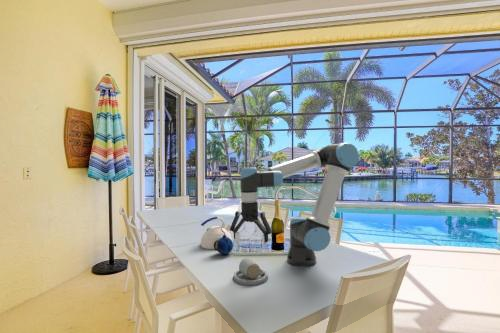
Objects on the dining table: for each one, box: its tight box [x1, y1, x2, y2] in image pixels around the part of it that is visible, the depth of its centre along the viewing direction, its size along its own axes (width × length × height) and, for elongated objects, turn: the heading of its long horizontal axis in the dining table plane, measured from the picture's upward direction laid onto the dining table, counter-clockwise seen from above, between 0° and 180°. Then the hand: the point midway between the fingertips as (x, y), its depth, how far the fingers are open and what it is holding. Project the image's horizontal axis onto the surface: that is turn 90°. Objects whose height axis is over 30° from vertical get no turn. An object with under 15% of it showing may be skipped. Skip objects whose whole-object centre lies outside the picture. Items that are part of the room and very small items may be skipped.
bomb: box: [213, 228, 234, 255], centre depth 160 cm, size 10×11×15 cm
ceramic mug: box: [238, 257, 265, 279], centre depth 127 cm, size 11×8×8 cm
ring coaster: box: [232, 268, 269, 286], centre depth 127 cm, size 16×16×2 cm
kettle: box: [200, 216, 233, 250], centre depth 180 cm, size 20×21×18 cm
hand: (250, 247), depth 127 cm, fingers open, 13 cm apart
